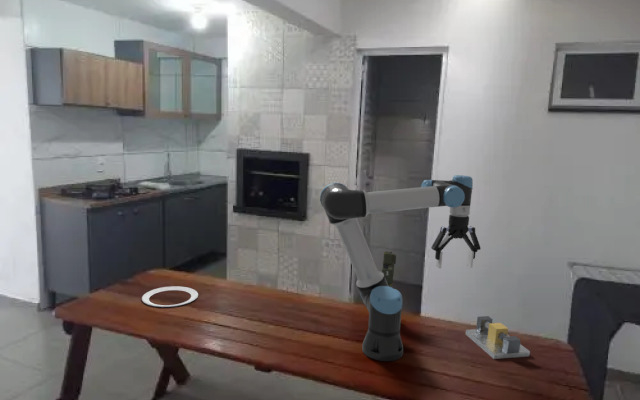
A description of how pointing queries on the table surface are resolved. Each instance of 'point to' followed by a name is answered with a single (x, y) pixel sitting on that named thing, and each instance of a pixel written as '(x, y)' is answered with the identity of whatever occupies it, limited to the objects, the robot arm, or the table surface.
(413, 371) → the table surface
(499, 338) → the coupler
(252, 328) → the table surface
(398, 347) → the robot arm
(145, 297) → the flat white ring
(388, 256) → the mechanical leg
